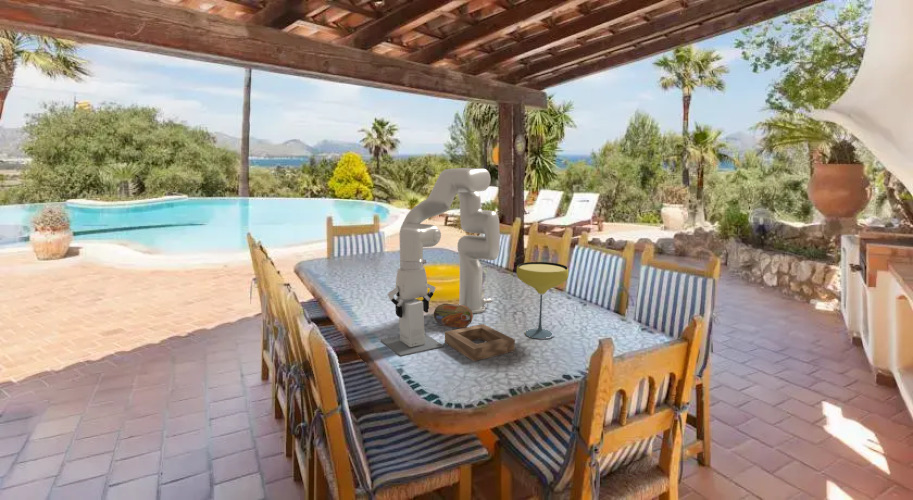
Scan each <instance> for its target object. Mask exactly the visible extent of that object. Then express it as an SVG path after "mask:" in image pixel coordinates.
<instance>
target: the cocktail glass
mask: <svg viewBox="0 0 913 500" xmlns="http://www.w3.org/2000/svg"><path fill="white" fill-rule="evenodd" d="M516 277H517V278H518V279H519V280H520V281H521V282H522V283H524V284H526V285H527V286H529V287H531V288H533V289H534V290H535V291H536V293H538V295H540V297H539V299H540V302H539V319H538V327H537V328H530V330H529V329H527V330H528V331H527V330H526V335H527V336H526V335H525V336H526V337H528V336H530V337H533V338H546V337H550V336H551V335H552V333H551V332H550V331H551V330H550V331H548V330H549V329H546V330H545V328H543V326H542V311H543V309H542V308H543V307H542V306H543V295H545V294H546V293H547V292H548V291H549V290H551V289H552V288H555V287H557V286H560V285H562V284H564V283H565V282H566V281H567V280H568V277H569V267H568V266H566V265H564V264H561V263H556V262H547V261H530V262H529V261H528V262H523V263H519V264H518V265H517V266H516ZM530 337H529V338H530ZM533 338H532V339H533Z"/></svg>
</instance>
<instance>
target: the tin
mask: <svg viewBox="0 0 913 500" xmlns="http://www.w3.org/2000/svg"><path fill="white" fill-rule="evenodd" d="M473 314H474V313H472V311H471V310H470V309H469V308H468V307H467V306H464V305H458V304H453V303H442V304H438V306H436V307H435V309H434V311H433V317H434V320H435V322H436V323H437V324H439V325H440V326H443V327H451V328H458V329H461V328H466V327H469V325H470V324H471V323H472V321H473V320H474V319H473V318H474V317H473V316H474V315H473Z"/></svg>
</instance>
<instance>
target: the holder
mask: <svg viewBox="0 0 913 500" xmlns="http://www.w3.org/2000/svg"><path fill="white" fill-rule="evenodd" d="M478 340H483V341H484V342H480V343H477V342H476V343H475V342H473V341H478ZM444 344H446V345H447V346H449V347H450V348H452V349H454V350H455V351H457V352H459V353H460V354H462V355H463V356H465V357H467V358H468V359H470V360H471V361H473V362H475V361H480V360H485V359H488V358H493V357H496V356H501V355H504V353H505V354H508V352H509V353H512V352H511V351H513V352H515V344H516V340H515V338H512V337H510V336H508V335H507V334H504V333H503V332H501V331H499V330H496V329H494V328H493V327H490V326H487V325H486V324H484V323H482V324H478V325H477V324H476V325H473V326H467V327H465V328H458V329H452V330H447V331H444ZM500 354H501V355H500Z"/></svg>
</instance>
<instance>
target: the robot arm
mask: <svg viewBox="0 0 913 500" xmlns="http://www.w3.org/2000/svg"><path fill="white" fill-rule="evenodd" d="M491 181H492V180H491V174H490V172H489V170H487V169H486V168H481V167H480V168H479V167H478V168H477V167H475V168H473V167H459V168H458V167H457V168H446V169H443V170H442V171H441V172H440V173H439V175H438V177H437V179H436V181H435V183H434V185H433V188H432V189H431V192H430V193H429V195H428V197H427V198H426V199H424V200H423V201H421V202H420V203H418V204H417V205H415V206H414V207H413V208H412V209H411V210H409V212H408V213H407V214H406V216H405V218H404V220H403V222H402V223H401V227H400V229H399V265H400V266H399V268H398V269H397V273H396V280H395V288H393V289H391V290H390V291H389V292H388V293H387V297H388V299H389V301H391V302H392V303H393V304H394V305H395V316H397V317H398V318H399V317H400V318H402V306H401V304H402V302H403V301H404V300H408V299H414V298H415V299H419V298H420V299H421V298H423V299H421V301H422V302H423V312H424V313H426V314H427V313H429V309H430V301H431V298H432V297H433V296H434V293H435V291H436V286H434V285H431V284H430V283H428V278H427V272H426V269H425V266H424V265H425V264H427V260H426V259H425V258H424V257H423V255H424V254H423V253H424V249H423V248H429V247H430V248H431V247H434V246H437V244H439V243H440V241H441V237H442V232H441V230H440V229H439V227H438V226H436V225H433V224H427V223H426V224H424V223H423V222H424V221H426V220H428V219H430V218H433V217H436V216H438V215H442V214H444V213H447V211H449V210H450V208H451V205H452V203H453V202H454V200H455V198H456V195H457V196H458V199H459V217H460V227H461V229H462V230H463V231H464V232H465V233H471V234H481V235H471V234H470V235H469V234H468V235H463V236H461V237H460V238H459V239H458V240H457V241H458V242H457V253H458V261H459V300H458V301H459V304H457V305H464V306H467V307H468V308H469V309H470V310H471V311H472V314H480V313H483V312H485V311H486V306H485V305H486V304H490V303H492V299H491V298H485V297H483V266H482V264H481V262H480V260H481V261H482V260H484V261H495V260H496V259H497V258H498V257H499V255H500V250H501V249H500V247H501V245H500V243H501V242H500V240H501V239H500V238H501V237H500V218H499V215H498V213H497V212H495V211H493V210H489V209H488V210H487V209H482V203H481V198H482V197H481V195H480V192H484V191H486V190H488V188H489V187H490V186H491V185H490V184H491ZM482 234H483V235H484V236H483V235H482ZM428 289H429V291H428ZM394 296H396V298H395V297H394Z"/></svg>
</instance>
